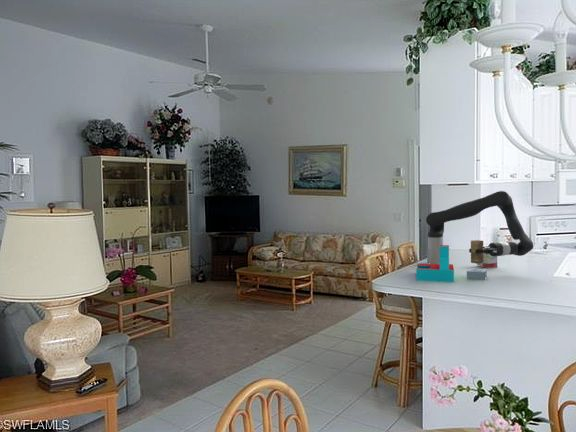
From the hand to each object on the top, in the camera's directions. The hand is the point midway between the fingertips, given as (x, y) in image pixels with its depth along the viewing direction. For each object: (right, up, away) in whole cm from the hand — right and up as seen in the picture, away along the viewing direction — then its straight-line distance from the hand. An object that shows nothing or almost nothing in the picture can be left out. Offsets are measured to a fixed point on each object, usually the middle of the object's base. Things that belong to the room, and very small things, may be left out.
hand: (472, 251), depth 255 cm
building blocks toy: (-19, -15, +6) cm, 25 cm away
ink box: (+23, -12, +36) cm, 45 cm away
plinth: (+3, -15, +2) cm, 15 cm away
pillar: (+3, -6, +1) cm, 7 cm away
